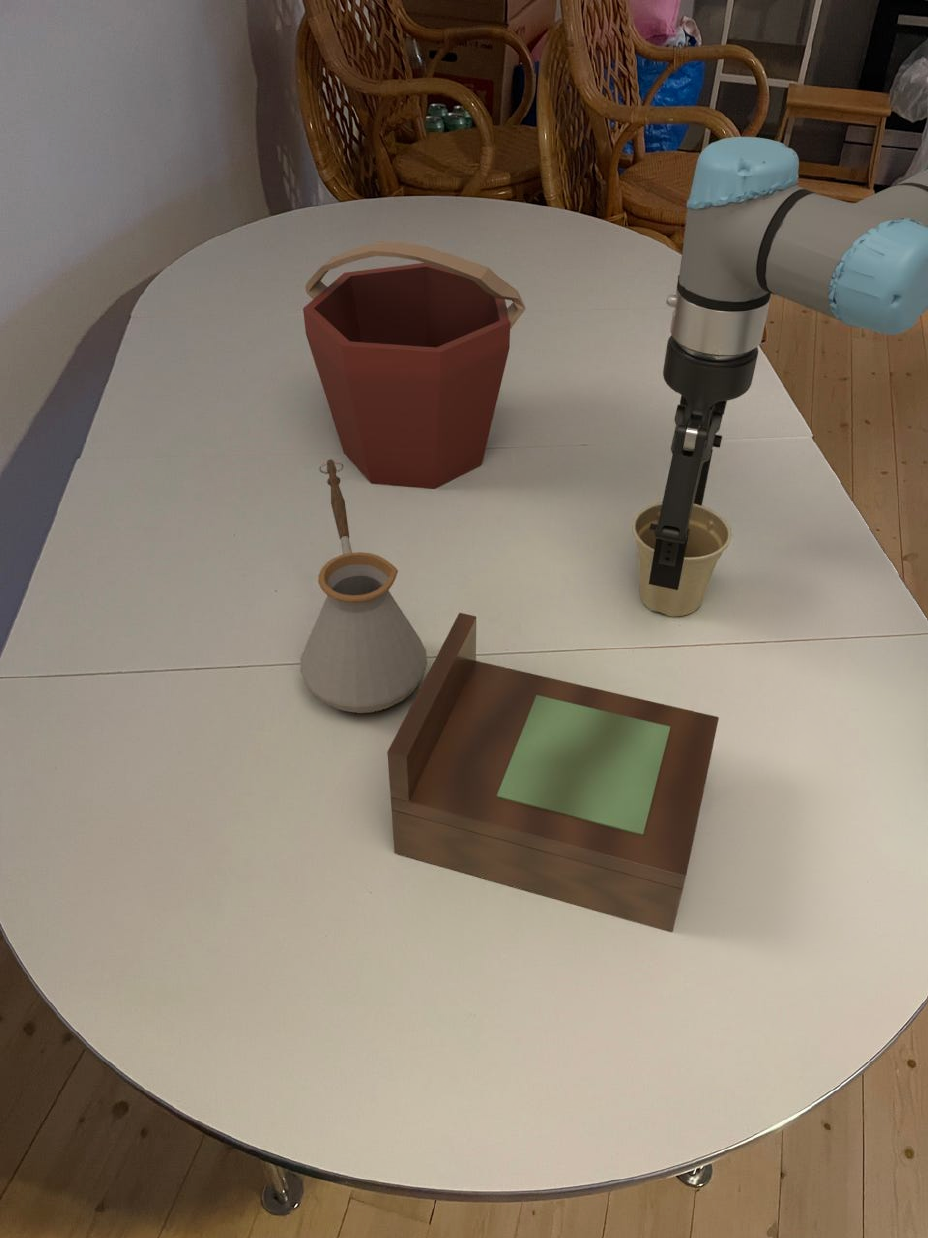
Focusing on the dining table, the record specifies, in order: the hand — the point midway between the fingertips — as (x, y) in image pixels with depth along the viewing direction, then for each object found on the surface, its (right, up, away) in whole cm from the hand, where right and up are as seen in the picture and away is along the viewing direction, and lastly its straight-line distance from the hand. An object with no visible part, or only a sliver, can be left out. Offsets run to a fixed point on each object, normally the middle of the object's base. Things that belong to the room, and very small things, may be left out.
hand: (676, 542), depth 101 cm
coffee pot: (-31, -10, -1) cm, 33 cm away
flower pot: (0, -5, +4) cm, 7 cm away
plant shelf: (-13, -23, -16) cm, 31 cm away
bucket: (-27, +12, +25) cm, 38 cm away
